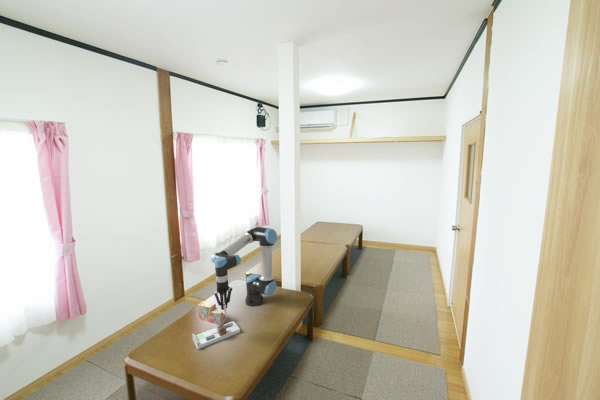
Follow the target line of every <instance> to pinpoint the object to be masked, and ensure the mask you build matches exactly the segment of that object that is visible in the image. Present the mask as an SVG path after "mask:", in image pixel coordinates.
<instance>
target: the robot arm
mask: <svg viewBox="0 0 600 400" xmlns="http://www.w3.org/2000/svg"><path fill="white" fill-rule="evenodd" d="M277 240H278V233H277V231H276V230H275V229H274V228H271V227H261V226H256V227H253V228H250V229H249V230H247V231H246V232H244V233H243V235H242V236H241V237H240V238H238V239H236V240H235V241H234V242H232V243H231V244H229V245H228V246H226V247H225V248H224V249H222V250H221V251H220V252H213V253H212V255H211V257H210V260H211V262H212V263H213V264H214V270H215V280H216V290H215V292H213V293H212V294H213V295H214V297H215V299H216V301H217V304H218V306H220V309H222V310H223V313H224V315H227V314H228V313H227V309H228V305H229V303H230V302H231V296H232V291H233V288H232V287H231V286H229V276H228V270H230V269H233V268H235V267H238V266H239V265H240V264H241V262H242V259H241V256H240V255H239V254H237V253H238V252H239V251H240V250H242V249H243V248H245V247H246V246H247V245H249V244H252V243H254V242H258V243H259V247H260V248H261V249H260V252H261V253H260V255H261V257H260V258H261V259H260V263H261V264H260V274H258V273H254V274H250V275H248V276H246V280H245V283H246V296H245V303H244V304H245V305H246V306H249V307H257V306H260V305H262V304H263V302H264V296H272V295H273V294H274V293H275V291H276V289H277V282H276V281H274V280H275V279H274V276H273V275H272V274H273V273H272V270H273V266H272V265H273V247H274V245H275V244H276V243H277ZM218 294H219V295H218ZM263 295H264V296H263Z"/></svg>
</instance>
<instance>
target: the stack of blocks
mask: <svg viewBox="0 0 600 400" xmlns="http://www.w3.org/2000/svg"><path fill="white" fill-rule="evenodd" d="M216 305H217V304H216V303H214V302H211V301H206V300H202V301H201V302H200V303H198V304H197V312H198V320H200V321H204V322H208V323H211V324H215V325H218V326H221V325H223V324H224V323H225V322H227V318H226V315H227V314H225V315H224V313H223V310H222V309H221V307H220V308H219V307H216Z"/></svg>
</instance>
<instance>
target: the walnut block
mask: <svg viewBox="0 0 600 400" xmlns="http://www.w3.org/2000/svg"><path fill="white" fill-rule="evenodd" d="M217 330H218V334H219V335H220V336H222V335H224V334H226V327H225V326H224V323H223V324H222V325H218V326H217Z"/></svg>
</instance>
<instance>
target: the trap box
mask: <svg viewBox="0 0 600 400" xmlns="http://www.w3.org/2000/svg"><path fill="white" fill-rule="evenodd" d="M223 324H224V323H223ZM224 326H225V327H226V334H224V335H222V336H220V335H219V334H218V330H217V327H218V326H217V327H214V328H212V329H209V330H206V331H203V332H200V333H198V334H195V333H194V332H193V333H192V341H193V342H194V343H193V344H194V345H195V346H196V349H197V350H200V349H203V348H205V347H208V346H210V345H212V344H215V343H217V342H220V341H222V340H225V339H227V338H230V337H232V336H234V335H237V334H240V333H241V328H240V327H239V326H238V324H237V323H236V322H235V321H234V320H233V321H230V322H227V323H225V324H224Z"/></svg>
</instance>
